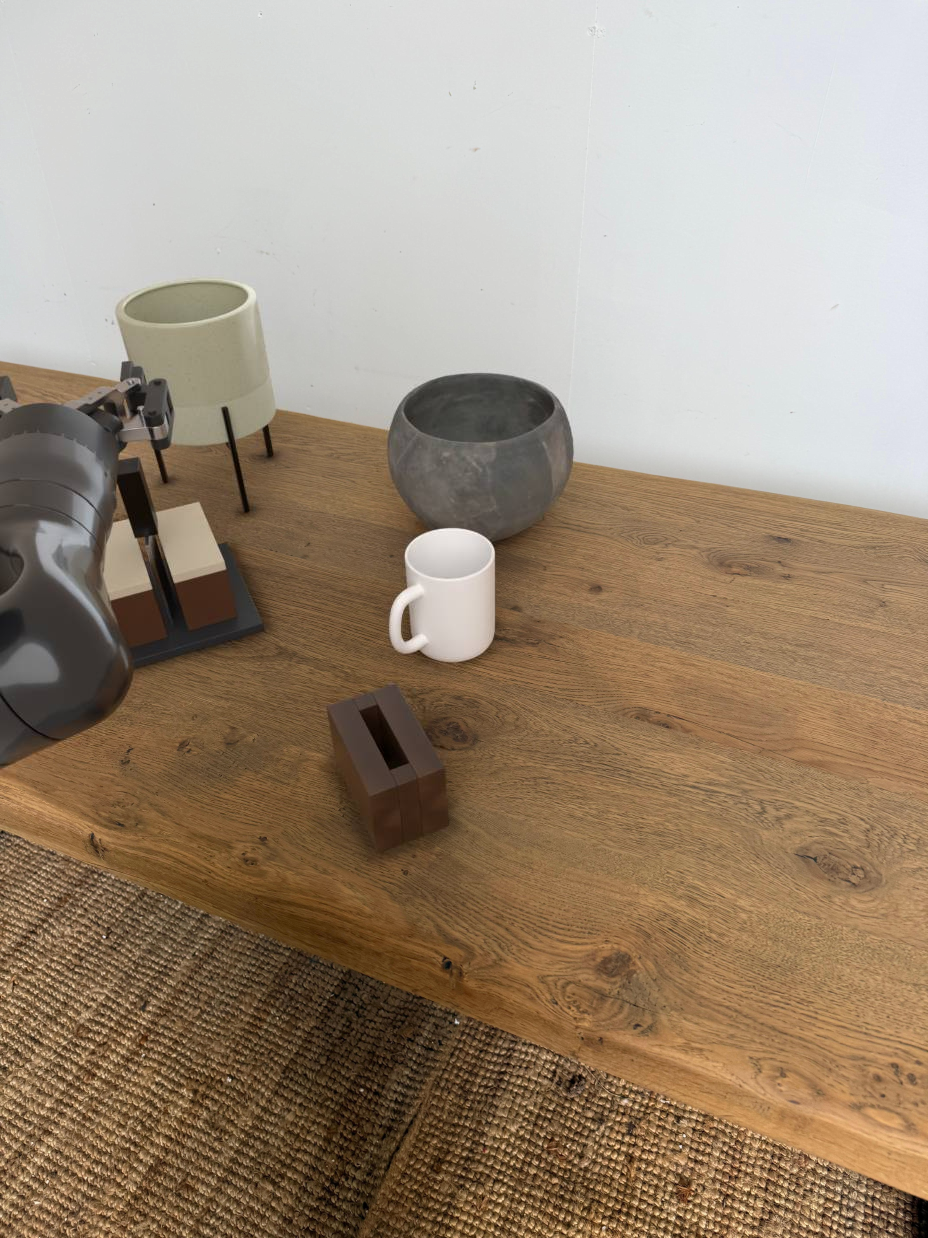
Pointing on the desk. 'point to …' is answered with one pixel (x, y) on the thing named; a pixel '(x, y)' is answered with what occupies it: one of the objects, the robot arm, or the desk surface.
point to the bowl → (480, 453)
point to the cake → (177, 588)
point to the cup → (447, 596)
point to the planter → (203, 360)
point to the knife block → (388, 767)
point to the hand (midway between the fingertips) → (70, 380)
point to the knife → (143, 520)
